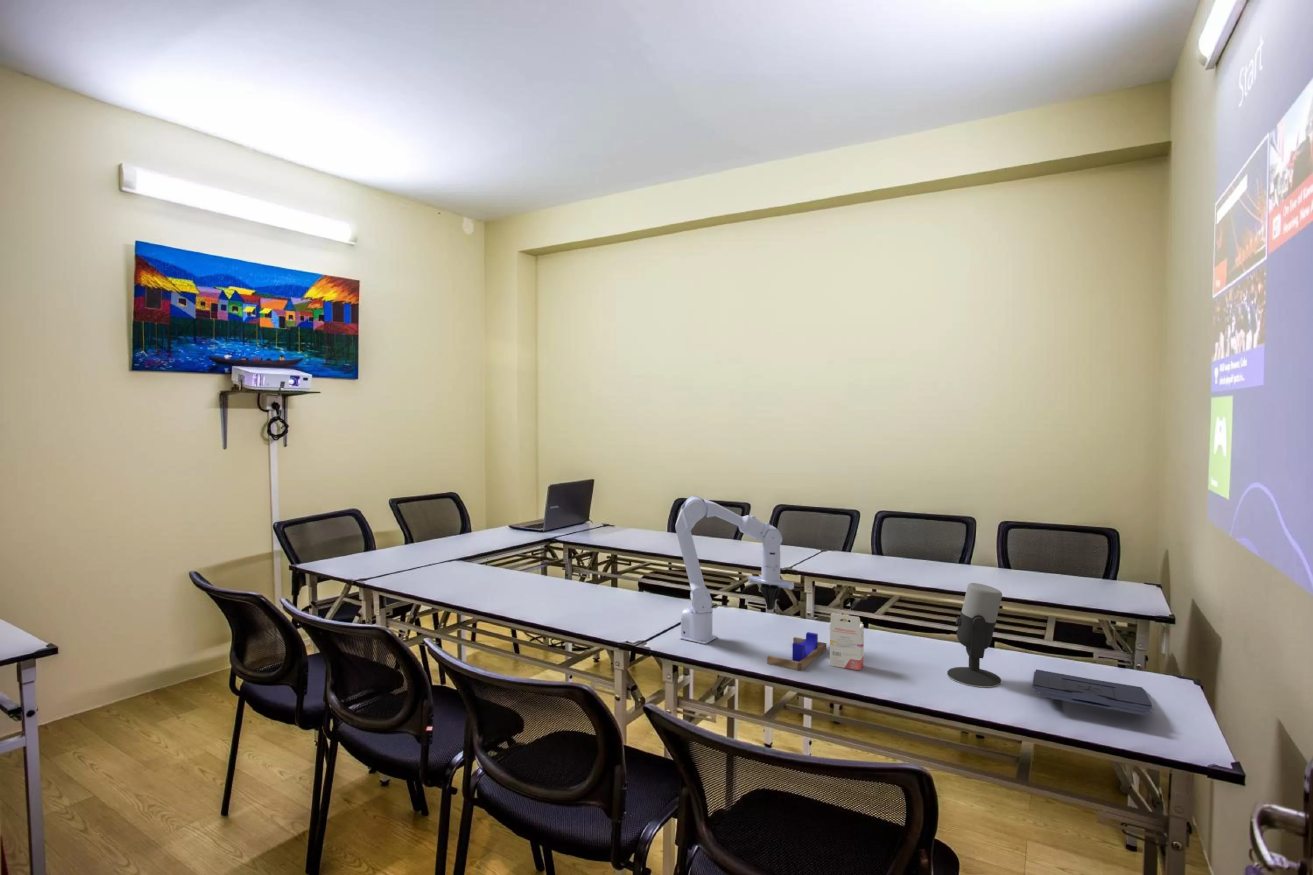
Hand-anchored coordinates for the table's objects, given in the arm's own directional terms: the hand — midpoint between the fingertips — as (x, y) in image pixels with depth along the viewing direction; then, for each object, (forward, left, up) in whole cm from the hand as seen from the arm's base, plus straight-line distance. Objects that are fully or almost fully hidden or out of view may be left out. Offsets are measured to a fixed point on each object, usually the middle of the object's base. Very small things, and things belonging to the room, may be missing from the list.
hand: (770, 608), depth 213 cm
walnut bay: (+13, -10, -9) cm, 19 cm away
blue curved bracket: (+15, -10, -10) cm, 20 cm away
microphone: (+58, +1, -10) cm, 59 cm away
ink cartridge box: (+27, -9, -10) cm, 30 cm away
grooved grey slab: (+84, +2, -10) cm, 84 cm away
